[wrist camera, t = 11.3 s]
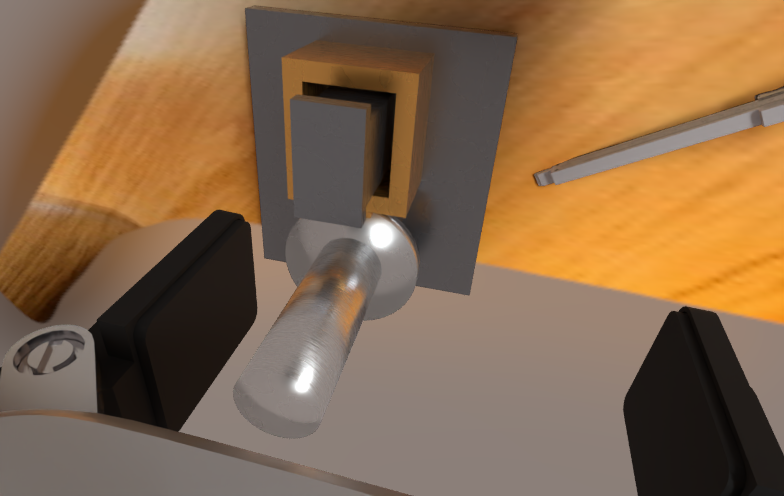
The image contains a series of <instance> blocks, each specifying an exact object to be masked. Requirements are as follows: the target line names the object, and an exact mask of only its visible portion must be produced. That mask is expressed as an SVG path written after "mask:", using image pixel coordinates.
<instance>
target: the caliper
mask: <svg viewBox="0 0 784 496" xmlns="http://www.w3.org/2000/svg"><path fill="white" fill-rule="evenodd" d="M783 121H784V86H783V87H781V88H779V89H776V90H773V91H769V92H765V93H761V94H758V95H756V96H755V101H752V102H749V103H746V104H743V105H740V106H736V107H733V108H730V109H727V110H724V111H721V112H718V113H715V114H711V115H708V116H705V117H702V118H699V119H696V120H693V121H689V122H686V123H683V124H680V125H677V126H674V127H671V128H667V129H664V130H661V131H658V132H655V133H652V134H649V135H645V136H642V137H639V138H636V139H633V140H630V141H626V142H623V143H620V144H617V145H614V146H610V147H607V148H604V149H601V150H598V151H595V152H591V153H588V154H585V155H582V156H579V157H576V158H573V159H570V160H568V161H565V162H563V163H560V164H557V165H555V166H552V168H550V169H546V170H543V171H540V172H537V173H535V174H534V176H535V178H536V180H537V183H538V185H539V186H544V185H548V184H551V183H554V182H555V185H558V184H561V183H565V182H568V181H571V180H575V179H578V178H582V177H585V176H589V175H592V174H595V173H599V172H602V171H606V170H609V169H612V168H616V167H619V166H623V165H626V164H629V163H633V162H636V161H640V160H643V159H646V158H650V157H653V156H657V155H660V154H663V153H667V152H670V151H674V150H677V149H680V148H684V147H687V146H691V145H694V144H697V143H701V142H704V141H708V140H711V139H714V138H718V137H721V136H725V135H728V134H731V133H735V132H738V131H741V130H745V129H748V128H752V127H755V126H758V125H762V126H764V127H766V126H769V125H773V124H776V123H780V122H783Z"/></svg>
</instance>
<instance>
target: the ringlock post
mask: <svg viewBox="0 0 784 496" xmlns="http://www.w3.org/2000/svg"><path fill="white" fill-rule="evenodd" d="M245 15H246V27H247V40H248V53H249V66H250V79H251V92H252V105H253V118H254V130H255V143H256V156H257V169H258V182H259V195H260V208H261V221H262V233H263V246H264V258H266V259H271V260H277V261H283V262H286V263H287V267H288V270H289V273H290V275H291V277H292V279H293V281H294V282H295V284H296V286H297V289H296V290H295V292H294V294H293V295H292V296H291V298H290V300H289V301H288V303H287V304H286V306H285V307H284V309H283V310H282V312H281V314H280V315H279V317H278V318H277V320H276V322H275V323H274V325H273V326H272V328H271V329H270V331H269V332H268V334H267V335H266V337H265V339H264V340H263V342H262V343H261V345H260V347H259V348H258V349H257V351H256V353H255V354H254V356H253V357H252V359H251V361H250V362H249V364H248V365H247V367H246V368H245V370H244V372H243V373H242V374H241V376H240V378H239V379H238V381H237V382H236V384H235V386H234V390H233V397H234V401H235V404H236V406H237V408H238V410H239V411H240V413H241V414H242V415H243V416H244V417H245V418H246V419H247V420H248V421H249V422H250V423H251V424H253V425H254V426H256V427H257V428H259V429H260V430H262V431H264V432H267V433H269V434H271V435H274V436H278V437H283V438H302V437H306V436H308V435H310V434H312V433H313V432H315V431H316V430H317V429H318V427H319V425H320V423H321V421H322V418H323V416H324V414H325V411H326V408H327V406H328V404H329V401H330V399H331V397H332V394H333V392H334V389H335V387H336V384H337V382H338V380H339V377H340V375H341V372H342V370H343V367H344V365H345V362H346V360H347V358H348V355H349V353H350V350H351V348H352V346H353V343H354V341H355V339H356V336H357V334H358V331H359V329H360V326H361V324H362V322H363V320H364V321H365V320H375V319H380V318H382V317H386V316H388V315H390V314H392V313H394V312H396V311H397V310H399V309H400V308H401V307H402V306H403V305H405V303H406V302H407V301H408V300H409V298H410V297H411V295H412V293H413V291H414V288H415V286H420V287H425V288H431V289H436V290H442V291H448V292H453V293H459V294H464V295H470V290H471V284H472V279H473V274H474V268H475V263H476V258H477V252H478V247H479V241H480V236H481V231H482V225H483V220H484V214H485V209H486V204H487V198H488V193H489V188H490V182H491V177H492V171H493V166H494V161H495V155H496V150H497V144H498V139H499V134H500V128H501V123H502V117H503V112H504V107H505V101H506V96H507V90H508V85H509V80H510V74H511V69H512V63H513V58H514V53H515V47H516V42H517V33H508V32H499V31H489V30H480V29H470V28H461V27H451V26H442V25H433V24H423V23H414V22H404V21H395V20H385V19H376V18H367V17H357V16H348V15H338V14H329V13H319V12H310V11H301V10H291V9H282V8H272V7H263V6H251V7H247V8H245ZM331 85H334V86H342V87H350V88H358V89H366V90H374V91H382V92H389V93H396V105H395V119H394V133H393V147H392V161H391V165H390V166H389V168H388V170H387V172H386V173H385V175H384V177H383V178H382V180H381V182H380V184H379V185H378V187H377V189H376V191H375V192H374V194H373V196H372V198H371V199H370V201H369V203H368V204H367V206H366V221H365V222H364V224H363V226H362V228H356V227H350V226H344V225H338V224H332V223H326V222H320V221H314V220H308V219H302V218H296V217H294V199H293V172H292V146H291V119H290V99H291V98H292V97H294V96H295V95H297V94H299V95H306V96H314V97H317V96H318V95H319V94H321V93H322V92H323V91H324V90H326V89H327V88H328V87H330V86H331Z"/></svg>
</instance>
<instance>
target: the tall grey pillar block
mask: <svg viewBox="0 0 784 496" xmlns="http://www.w3.org/2000/svg"><path fill="white" fill-rule="evenodd" d="M395 105H396V93H389V92H382V91H374V90H366V89H358V88H350V87H342V86H334V85H331V86H330V87H328V88H327V89H326V90H324V91H323V92H322V93H321V94H319V95H318V96H317V97H314V96H306V95H299V94H297V95H295V96H294V97H292V98H291V99H290V119H291V146H292V172H293V199H294V217H296V218H302V219H308V220H314V221H320V222H326V223H332V224H338V225H344V226H350V227H356V228H362V226H363V224H364V222H365V221H366V206H367V204H368V203H369V201H370V199H371V198H372V196H373V194H374V192H375V191H376V189H377V187H378V185H379V184H380V182H381V180H382V178H383V177H384V175H385V173H386V172H387V170H388V168H389V166H390V165H391V161H392V147H393V133H394V119H395Z"/></svg>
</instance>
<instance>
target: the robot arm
mask: <svg viewBox="0 0 784 496" xmlns="http://www.w3.org/2000/svg"><path fill="white" fill-rule="evenodd" d="M256 315H257V300H256V287H255V274H254V262H253V250H252V237H251V227H250V224H249V223H248V222H245V220H244V217H243V216H242V215H241V214H237V213H232V212H227V211H223V210H216V211H214V212H213V213H212V214H211V215H210V216H209V217H207V218H206V219H205V220H204V221H203V222H202V223H201V224H200V225H199V226H198V227H197V228H196V229H195V230H193V231H192V232H191V233H190V234H189V235H188V236H187V237H186V238H185V239H184V240H183V241H182V242H180V243H179V244H178V245H177V246H176V247H175V248H174V249H173V250H172V251H171V252H170V253H168V254H167V255H166V256H165V257H164V258H163V259H162V260H161V261H160V262H159V263H158V264H157V265H155V267H153V268H152V269H151V270H150V271H149V272H148V273H147V274H146V275H145V276H144V277H142V278H141V280H139V281H138V282H137V283H136V284H135V285H134V286H133V287H132V288H131V289H129V291H127V292H126V293H125V294H124V295H123V296H122V297H121V298H120V299H119V300H118V301H116V302H115V303H114V304H113V305H112V306H111V307H110V308H109V309H108V310H107V311H106V312H105V313H103V314H102V315H101V316H100V317H99V318H98V319H97V322H96V323H95V324H94V325H93V326H92V327H91V328H90V329H89V330H87V329H85V328H82V327H79V326H77V325H57V326H50V327H47V328H44V329H41V330H37V331H35V332H33V333H31V334H29V335H27V336H25V337H23V338H22V339H21V340H19V341H18V342H17V343H15V344H14V345H13V346H12V347H11V348H10V350H9V351H8V352H7V353H6V355H5V357H4V360H3V363H2V367H0V496H412V495H408V494H405V493H401V492H398V491H394V490H390V489H387V488H383V487H379V486H376V485H372V484H368V483H365V482H362V481H358V480H354V479H351V478H347V477H344V476H340V475H336V474H333V473H329V472H325V471H322V470H318V469H315V468H311V467H307V466H304V465H300V464H296V463H292V462H289V461H285V460H282V459H278V458H274V457H271V456H267V455H263V454H260V453H256V452H252V451H248V450H245V449H241V448H237V447H233V446H230V445H226V444H223V443H219V442H215V441H211V440H208V439H204V438H200V437H196V436H193V435H189V434H185V433H181V432H178V431H179V430H180V429H181V428H182V426H183V424H184V423H185V422H186V420H187V419H188V417H189V416H190V415H191V413H192V412H193V410H194V409H195V407H196V406H197V404H198V403H199V401H200V400H201V398H202V397H203V396H204V394H205V393H206V391H207V390H208V388H209V387H210V386H211V384H212V383H213V381H214V380H215V378H216V377H217V375H218V374H219V373H220V371H221V370H222V368H223V367H224V365H225V364H226V362H227V361H228V359H229V358H230V357H231V355H232V354H233V352H234V351H235V349H236V348H237V347H238V344H240V342H241V341H242V339H243V338H244V336H245V335H246V334H247V332H248V331H249V329H250V328H251V326H252V325H253V323H254V321H255V319H256ZM623 411H624V418H625V424H626V429H627V435H628V441H629V447H630V453H631V458H632V464H633V470H634V476H635V481H636V487H637V492H638V496H784V455H783V453H782V450H781V448H780V446H779V444H778V442H777V439H776V437H775V435H774V433H773V431H772V429H771V426H770V424H769V422H768V420H767V417H766V415H765V413H764V411H763V409H762V406H761V404H760V402H759V400H758V398H757V395H756V394H755V392H754V391H753V389H752V388H751V387H750V386H749V383H748V381H747V379H746V377H745V375H744V372H743V370H742V368H741V366H740V363H739V361H738V359H737V357H736V355H735V352H734V350H733V348H732V346H731V343H730V341H729V339H728V337H727V335H726V333H725V330H724V328H723V326H722V324H721V321H720V319H719V317H718V315H717V314H716V313H714V312H711V311H706V310H701V309H696V308H691V307H687V306H685V307H682V308H681V309H680V310H679V312H676V311H671V312H670V313H669V315H668V316H667V318H666V320H665V322H664V324H663V326H662V328H661V330H660V331H659V333H658V335H657V337H656V339H655V341H654V343H653V345H652V347H651V349H650V351H649V353H648V354H647V356H646V358H645V360H644V362H643V364H642V366H641V368H640V370H639V372H638V373H637V375H636V377H635V379H634V381H633V383H632V385H631V387H630V389H629V391H628V392H627V394H626V397H625V400H624V408H623Z"/></svg>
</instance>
